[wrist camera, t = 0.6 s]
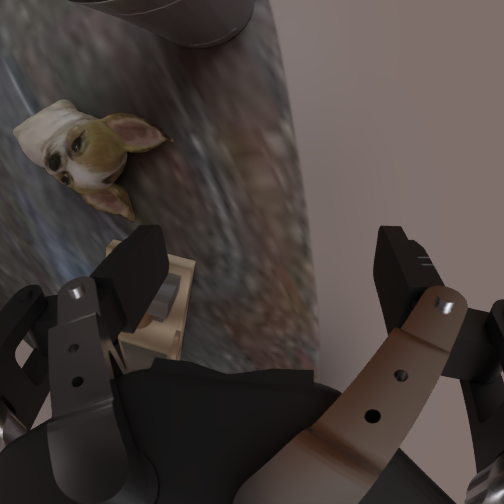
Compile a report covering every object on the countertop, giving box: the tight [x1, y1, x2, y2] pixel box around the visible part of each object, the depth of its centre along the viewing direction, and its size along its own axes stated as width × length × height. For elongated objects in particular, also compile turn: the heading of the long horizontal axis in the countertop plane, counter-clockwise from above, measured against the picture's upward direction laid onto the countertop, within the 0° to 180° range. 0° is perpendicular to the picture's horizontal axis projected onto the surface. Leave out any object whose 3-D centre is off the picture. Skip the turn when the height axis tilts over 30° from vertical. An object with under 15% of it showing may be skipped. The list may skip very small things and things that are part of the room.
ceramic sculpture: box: [13, 100, 173, 222], centre depth 25 cm, size 11×9×15 cm
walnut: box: [137, 314, 154, 329], centre depth 33 cm, size 4×4×4 cm
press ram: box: [121, 341, 167, 372], centre depth 31 cm, size 7×8×20 cm
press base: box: [106, 240, 196, 361], centre depth 37 cm, size 24×10×7 cm, turn 166°
